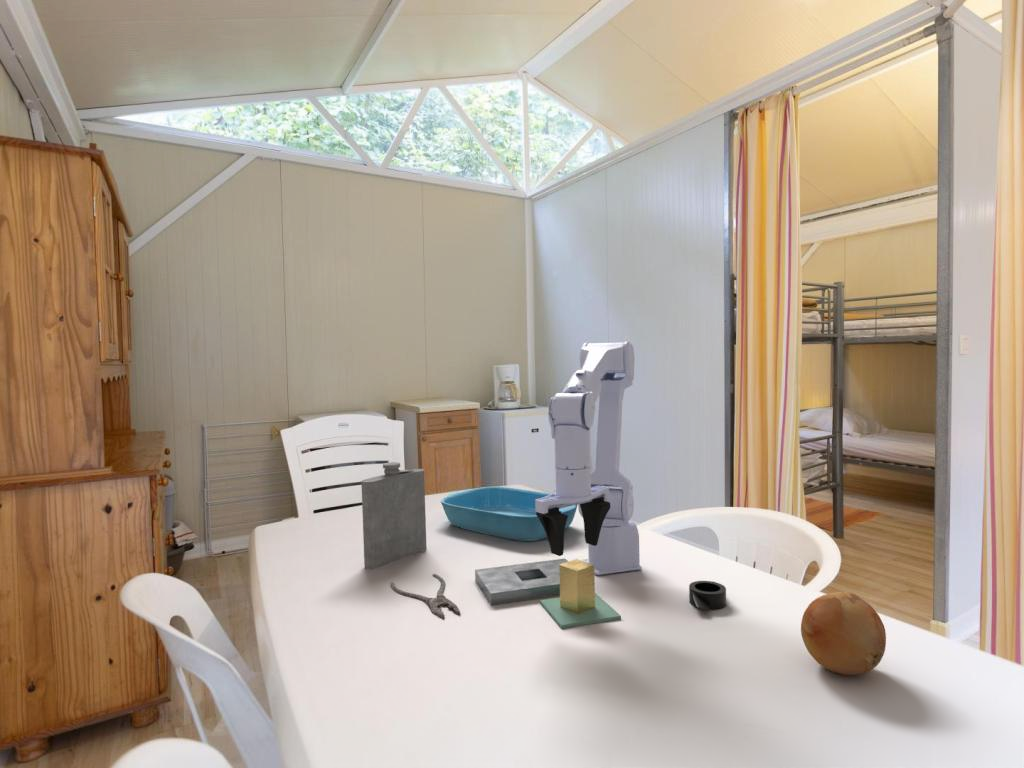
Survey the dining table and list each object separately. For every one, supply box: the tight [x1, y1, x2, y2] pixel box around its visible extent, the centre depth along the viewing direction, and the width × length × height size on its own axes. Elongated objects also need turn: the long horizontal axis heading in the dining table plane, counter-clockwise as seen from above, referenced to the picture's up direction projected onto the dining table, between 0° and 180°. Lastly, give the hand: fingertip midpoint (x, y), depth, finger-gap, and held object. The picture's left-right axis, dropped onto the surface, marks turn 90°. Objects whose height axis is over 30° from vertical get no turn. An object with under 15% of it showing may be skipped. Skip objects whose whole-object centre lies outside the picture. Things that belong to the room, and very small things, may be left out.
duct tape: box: [688, 580, 727, 612], centre depth 99 cm, size 8×10×3 cm
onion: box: [800, 591, 887, 676], centre depth 77 cm, size 10×10×10 cm
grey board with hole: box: [474, 558, 570, 606], centre depth 109 cm, size 18×12×2 cm, turn 106°
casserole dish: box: [440, 486, 578, 542], centre depth 148 cm, size 37×22×7 cm, turn 50°
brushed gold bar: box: [559, 558, 596, 614], centre depth 97 cm, size 4×4×7 cm
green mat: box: [539, 592, 622, 629], centre depth 97 cm, size 10×10×1 cm
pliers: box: [390, 573, 461, 620], centre depth 106 cm, size 10×1×20 cm
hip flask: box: [360, 461, 427, 570], centre depth 126 cm, size 16×4×20 cm, turn 141°
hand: (574, 549), depth 98 cm, fingers open, 7 cm apart
